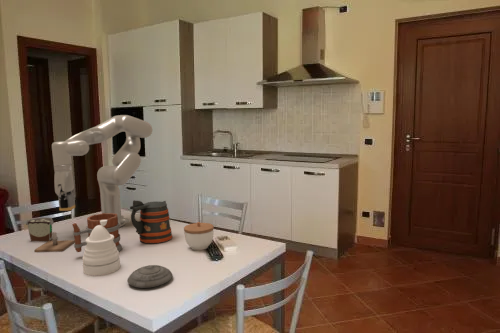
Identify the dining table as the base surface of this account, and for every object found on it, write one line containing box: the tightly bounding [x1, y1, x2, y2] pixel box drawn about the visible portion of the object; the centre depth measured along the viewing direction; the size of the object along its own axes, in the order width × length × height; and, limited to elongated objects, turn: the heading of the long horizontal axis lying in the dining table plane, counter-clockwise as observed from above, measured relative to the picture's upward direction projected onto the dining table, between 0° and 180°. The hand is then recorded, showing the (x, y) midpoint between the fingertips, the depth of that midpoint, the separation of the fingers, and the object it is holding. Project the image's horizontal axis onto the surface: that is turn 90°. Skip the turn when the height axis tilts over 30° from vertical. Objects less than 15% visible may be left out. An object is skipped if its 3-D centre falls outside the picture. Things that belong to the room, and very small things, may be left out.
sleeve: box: [57, 192, 76, 212], centre depth 180 cm, size 5×5×7 cm
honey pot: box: [82, 220, 121, 277], centre depth 142 cm, size 13×13×18 cm
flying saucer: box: [127, 264, 173, 289], centre depth 131 cm, size 15×15×6 cm
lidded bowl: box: [183, 221, 214, 251], centre depth 164 cm, size 13×13×11 cm
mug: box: [72, 212, 123, 253], centre depth 160 cm, size 14×19×15 cm
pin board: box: [34, 231, 75, 253], centre depth 168 cm, size 12×12×7 cm
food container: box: [25, 217, 54, 243], centre depth 179 cm, size 12×6×10 cm, turn 84°
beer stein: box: [129, 200, 173, 244], centre depth 174 cm, size 19×15×20 cm
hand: (67, 206), depth 180 cm, fingers closed on sleeve, 5 cm apart
